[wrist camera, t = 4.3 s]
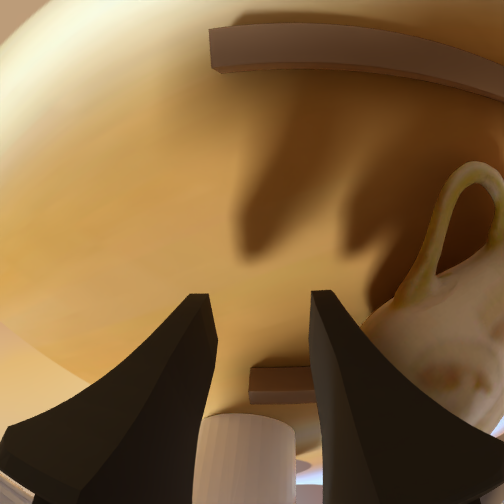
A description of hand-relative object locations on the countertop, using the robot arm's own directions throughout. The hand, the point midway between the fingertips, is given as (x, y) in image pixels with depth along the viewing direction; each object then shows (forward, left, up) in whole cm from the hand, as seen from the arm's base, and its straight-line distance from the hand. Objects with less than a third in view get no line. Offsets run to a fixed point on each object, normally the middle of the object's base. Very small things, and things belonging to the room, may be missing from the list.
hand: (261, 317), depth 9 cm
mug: (+2, -9, -3) cm, 10 cm away
